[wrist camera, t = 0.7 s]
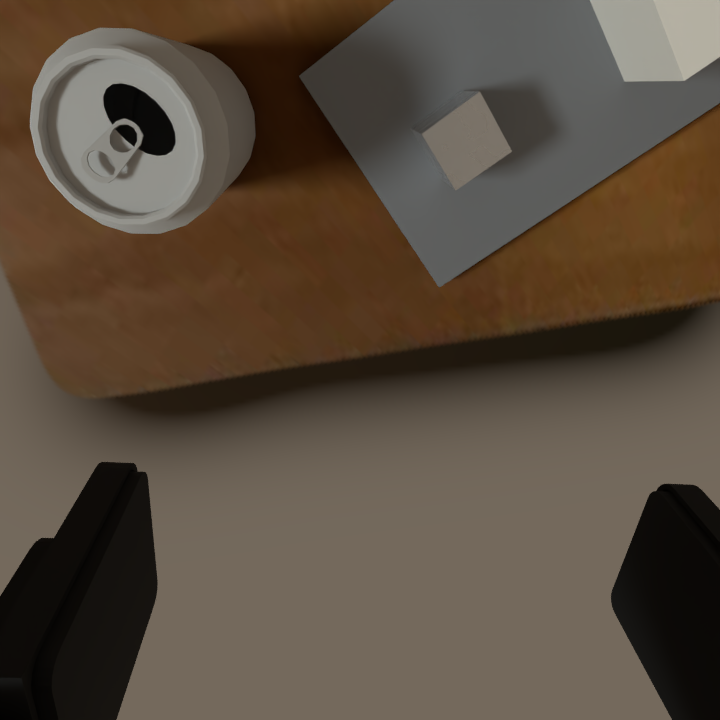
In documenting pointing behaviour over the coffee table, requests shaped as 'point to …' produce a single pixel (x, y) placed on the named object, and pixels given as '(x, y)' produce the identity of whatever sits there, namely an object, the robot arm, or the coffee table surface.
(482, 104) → the small white block
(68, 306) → the coffee table surface
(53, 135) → the can
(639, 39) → the cream foam cube
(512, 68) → the board
